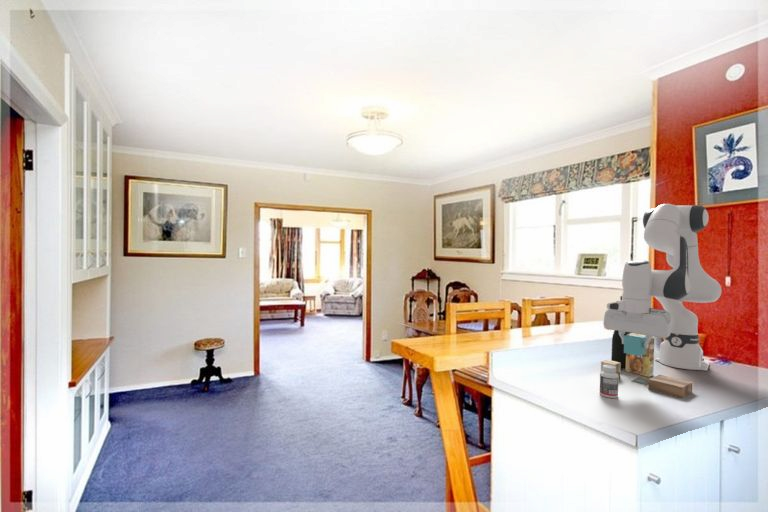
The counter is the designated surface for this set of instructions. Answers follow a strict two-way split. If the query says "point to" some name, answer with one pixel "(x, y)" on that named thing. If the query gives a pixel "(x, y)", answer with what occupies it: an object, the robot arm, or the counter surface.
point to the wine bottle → (618, 348)
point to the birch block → (612, 363)
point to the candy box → (641, 361)
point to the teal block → (634, 344)
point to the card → (641, 380)
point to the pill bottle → (609, 382)
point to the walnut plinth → (670, 386)
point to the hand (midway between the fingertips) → (634, 345)
